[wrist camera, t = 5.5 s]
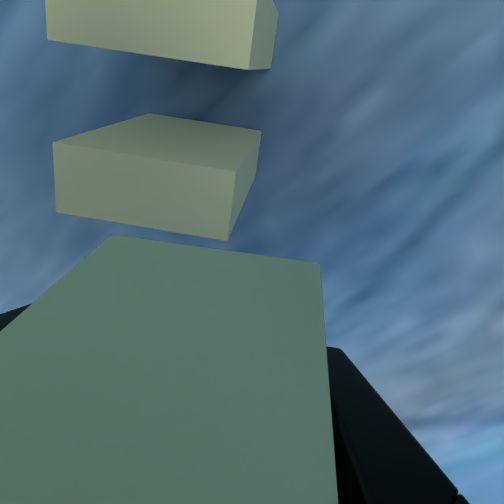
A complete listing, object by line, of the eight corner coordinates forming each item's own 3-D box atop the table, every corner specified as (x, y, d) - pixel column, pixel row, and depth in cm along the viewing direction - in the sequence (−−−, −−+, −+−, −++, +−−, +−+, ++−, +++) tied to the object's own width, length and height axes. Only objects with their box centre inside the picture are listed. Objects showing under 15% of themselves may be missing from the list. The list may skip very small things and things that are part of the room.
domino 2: (149, 113, 19) (52, 141, 12) (261, 130, 19) (235, 171, 11) (147, 158, 20) (55, 212, 12) (255, 175, 19) (227, 241, 12)
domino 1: (153, -5, 17) (42, -58, 10) (278, 13, 17) (260, -28, 10) (151, 50, 18) (47, 39, 11) (270, 68, 18) (248, 69, 10)
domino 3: (112, 234, 10) (-351, 636, 3) (319, 263, 10) (360, 789, 3) (114, 306, 11) (-247, 760, 4) (306, 334, 11) (311, 886, 4)
